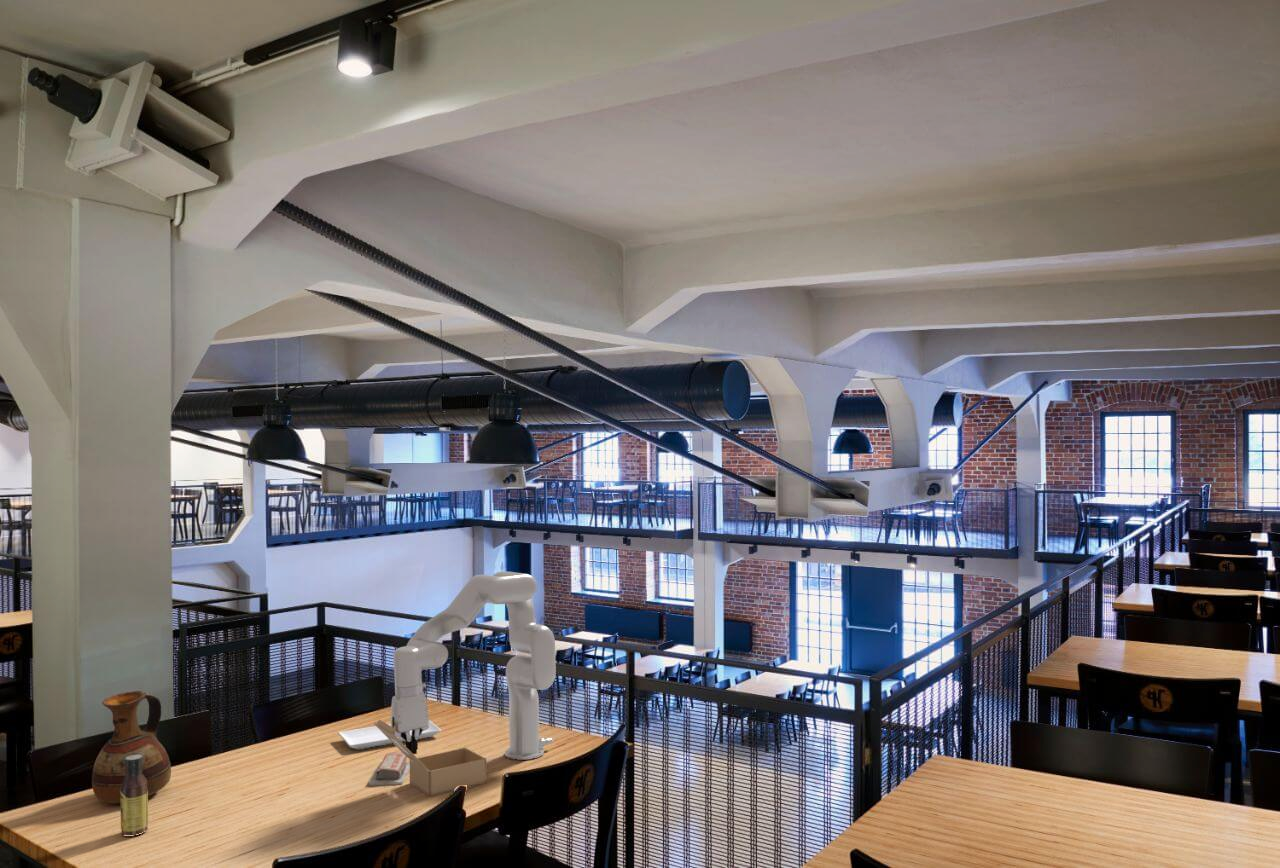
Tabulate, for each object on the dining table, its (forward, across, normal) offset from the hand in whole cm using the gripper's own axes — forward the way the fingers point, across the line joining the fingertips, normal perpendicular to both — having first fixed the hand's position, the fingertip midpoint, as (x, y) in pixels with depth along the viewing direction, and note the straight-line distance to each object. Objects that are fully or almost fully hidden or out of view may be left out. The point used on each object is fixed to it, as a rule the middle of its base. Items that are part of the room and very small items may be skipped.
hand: (412, 753), depth 269 cm
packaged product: (+12, 0, -18) cm, 21 cm away
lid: (-4, +2, 0) cm, 4 cm away
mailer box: (+12, -11, 0) cm, 16 cm away
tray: (+13, -14, -52) cm, 56 cm away
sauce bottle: (+8, +69, -18) cm, 72 cm away
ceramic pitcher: (+8, +65, -48) cm, 81 cm away
